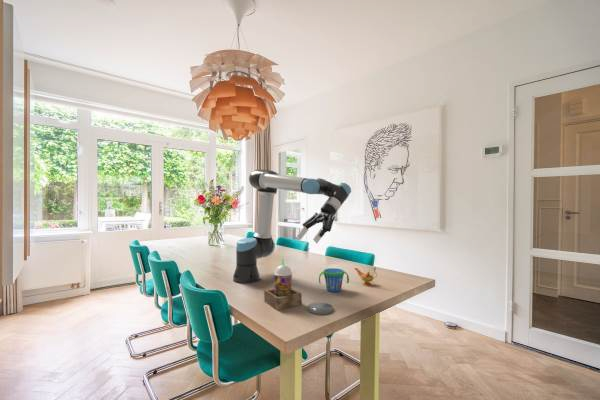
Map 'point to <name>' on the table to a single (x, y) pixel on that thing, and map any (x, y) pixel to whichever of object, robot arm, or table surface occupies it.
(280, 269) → the smoothie
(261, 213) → the robot arm
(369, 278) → the magic lamp
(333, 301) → the table surface
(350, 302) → the table surface
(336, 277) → the snack cup
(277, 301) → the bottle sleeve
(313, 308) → the slate coaster
